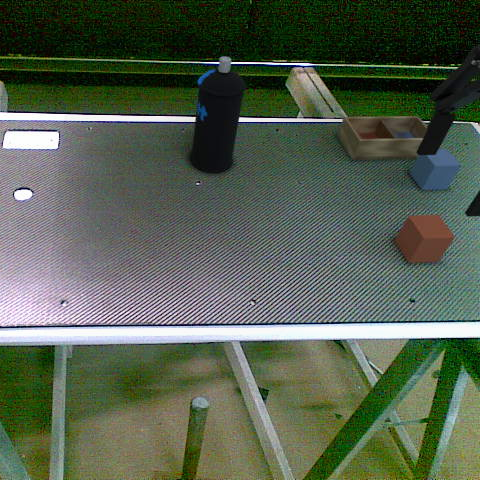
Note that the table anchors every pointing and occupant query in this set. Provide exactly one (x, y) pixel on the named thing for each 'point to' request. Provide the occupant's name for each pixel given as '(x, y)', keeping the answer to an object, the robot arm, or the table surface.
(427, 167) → the blue block
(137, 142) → the table surface
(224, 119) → the aerosol can
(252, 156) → the table surface
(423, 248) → the terracotta block
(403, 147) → the tray
